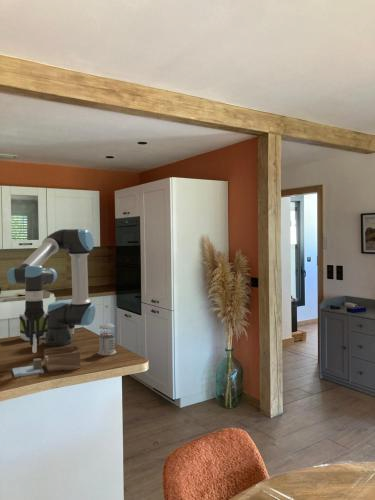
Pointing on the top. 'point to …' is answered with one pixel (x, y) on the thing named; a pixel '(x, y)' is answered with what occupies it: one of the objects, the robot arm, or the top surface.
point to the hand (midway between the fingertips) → (34, 351)
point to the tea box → (22, 333)
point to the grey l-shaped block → (29, 369)
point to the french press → (106, 340)
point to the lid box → (61, 359)
